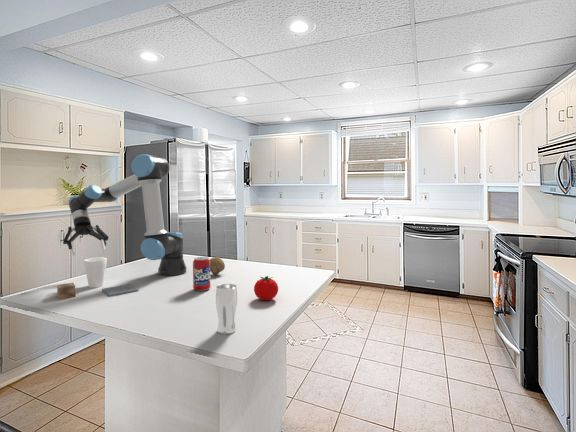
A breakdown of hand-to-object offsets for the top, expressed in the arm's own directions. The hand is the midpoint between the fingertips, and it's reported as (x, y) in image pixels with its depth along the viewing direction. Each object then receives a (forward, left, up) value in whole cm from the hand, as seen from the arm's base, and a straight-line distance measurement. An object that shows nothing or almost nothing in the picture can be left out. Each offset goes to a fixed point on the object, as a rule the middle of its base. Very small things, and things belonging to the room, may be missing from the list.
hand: (89, 252), depth 168 cm
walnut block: (+6, +23, -15) cm, 28 cm away
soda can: (-50, +35, -15) cm, 63 cm away
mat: (-15, +23, -15) cm, 31 cm away
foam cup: (-4, +10, -15) cm, 19 cm away
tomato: (-73, +60, -15) cm, 96 cm away
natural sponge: (-62, +10, -15) cm, 64 cm away
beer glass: (-50, +85, -15) cm, 100 cm away
